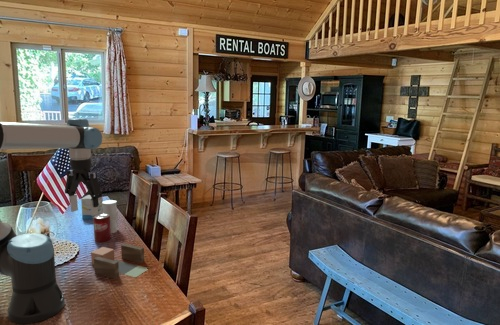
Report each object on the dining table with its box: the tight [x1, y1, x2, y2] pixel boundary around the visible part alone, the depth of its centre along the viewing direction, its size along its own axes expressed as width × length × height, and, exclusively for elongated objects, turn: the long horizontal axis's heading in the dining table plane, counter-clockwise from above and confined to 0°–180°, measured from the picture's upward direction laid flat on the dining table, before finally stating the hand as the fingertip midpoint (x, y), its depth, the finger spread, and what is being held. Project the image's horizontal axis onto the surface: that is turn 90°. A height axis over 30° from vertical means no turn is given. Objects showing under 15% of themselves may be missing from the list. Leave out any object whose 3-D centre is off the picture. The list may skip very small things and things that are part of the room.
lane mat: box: [87, 259, 148, 278], centre depth 143 cm, size 8×24×1 cm, turn 66°
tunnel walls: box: [93, 243, 145, 280], centre depth 142 cm, size 16×10×6 cm, turn 156°
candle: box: [102, 199, 119, 234], centre depth 180 cm, size 7×7×15 cm
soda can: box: [92, 214, 113, 244], centre depth 167 cm, size 7×7×12 cm
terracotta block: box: [90, 246, 116, 265], centre depth 146 cm, size 6×6×5 cm
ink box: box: [80, 194, 104, 220], centre depth 201 cm, size 9×8×12 cm
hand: (84, 212), depth 146 cm, fingers open, 10 cm apart
